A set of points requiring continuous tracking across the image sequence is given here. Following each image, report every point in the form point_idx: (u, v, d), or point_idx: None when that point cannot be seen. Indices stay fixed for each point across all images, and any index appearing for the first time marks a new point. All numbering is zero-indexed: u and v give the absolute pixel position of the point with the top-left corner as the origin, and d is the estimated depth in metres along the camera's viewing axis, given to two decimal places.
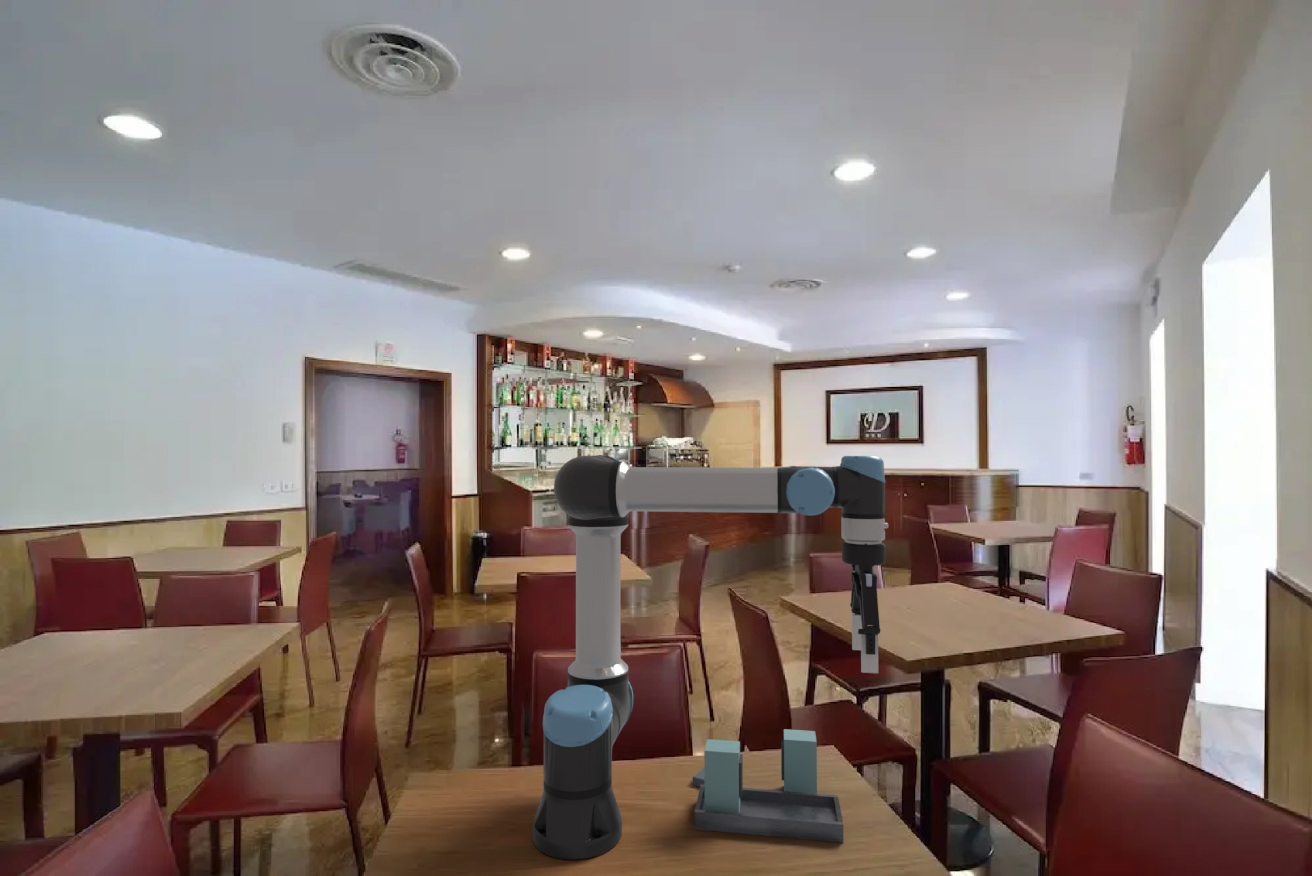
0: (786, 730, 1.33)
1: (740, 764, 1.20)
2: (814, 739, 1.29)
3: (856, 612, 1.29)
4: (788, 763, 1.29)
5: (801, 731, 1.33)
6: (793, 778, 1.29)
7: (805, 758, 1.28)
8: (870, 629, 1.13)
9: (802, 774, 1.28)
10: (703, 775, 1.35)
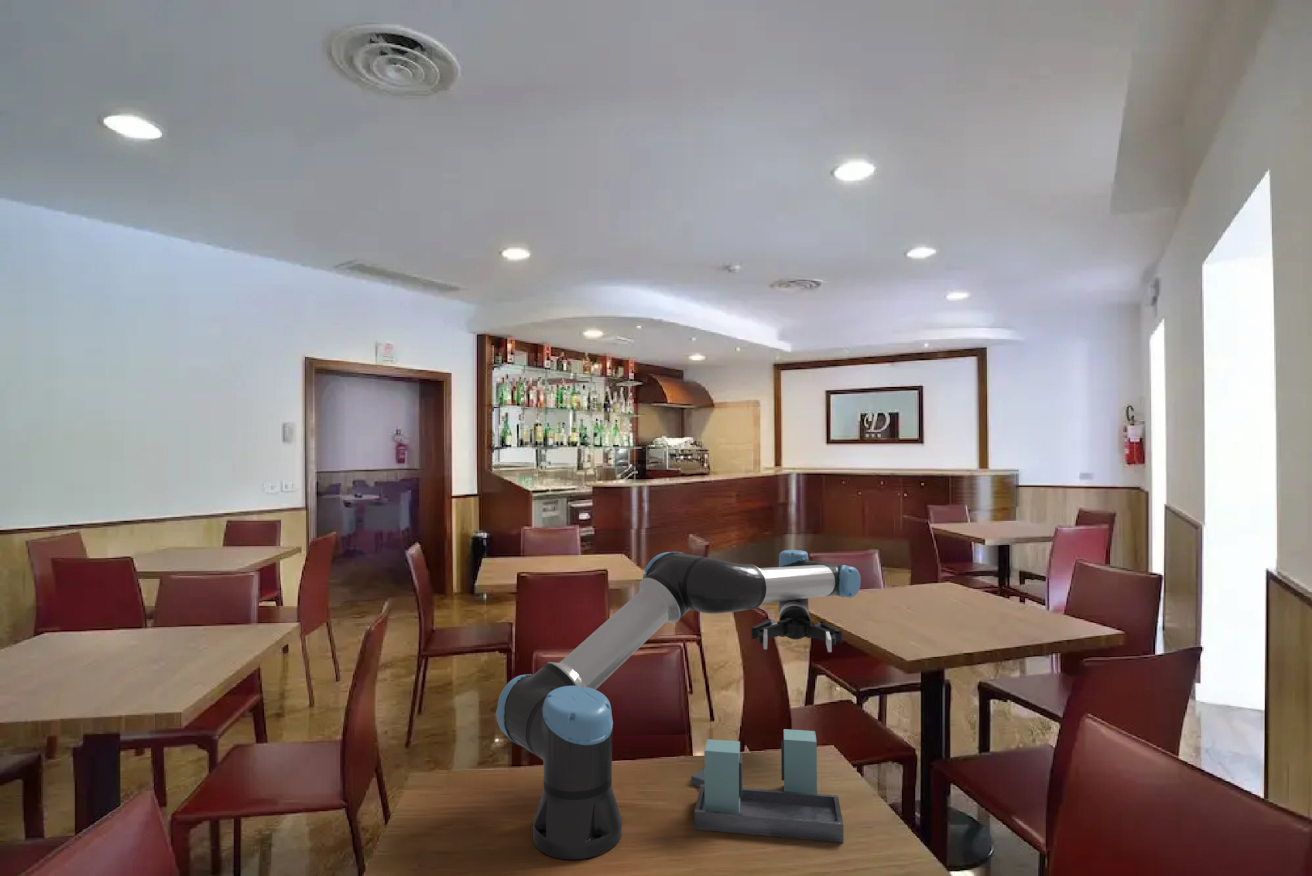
0: (786, 730, 1.33)
1: (740, 764, 1.20)
2: (814, 739, 1.29)
3: (764, 632, 1.55)
4: (788, 763, 1.29)
5: (801, 731, 1.33)
6: (793, 778, 1.29)
7: (805, 758, 1.28)
8: None
9: (802, 774, 1.28)
10: (702, 775, 1.35)
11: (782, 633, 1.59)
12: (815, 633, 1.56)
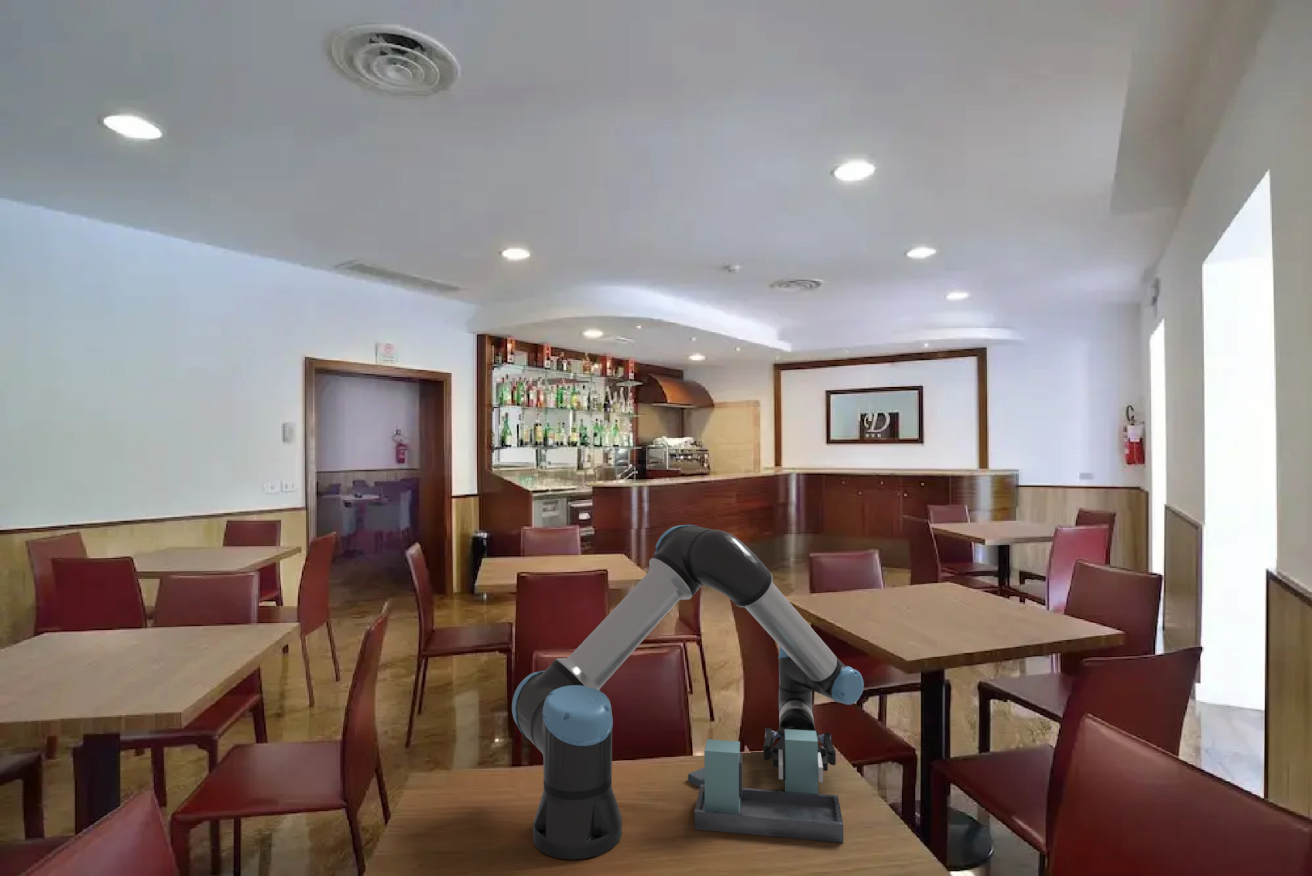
0: (787, 730, 1.33)
1: (740, 764, 1.20)
2: (815, 739, 1.29)
3: (778, 752, 1.34)
4: (789, 763, 1.29)
5: (802, 731, 1.33)
6: (795, 778, 1.29)
7: (807, 758, 1.28)
8: None
9: (804, 774, 1.28)
10: (699, 773, 1.36)
11: None
12: None
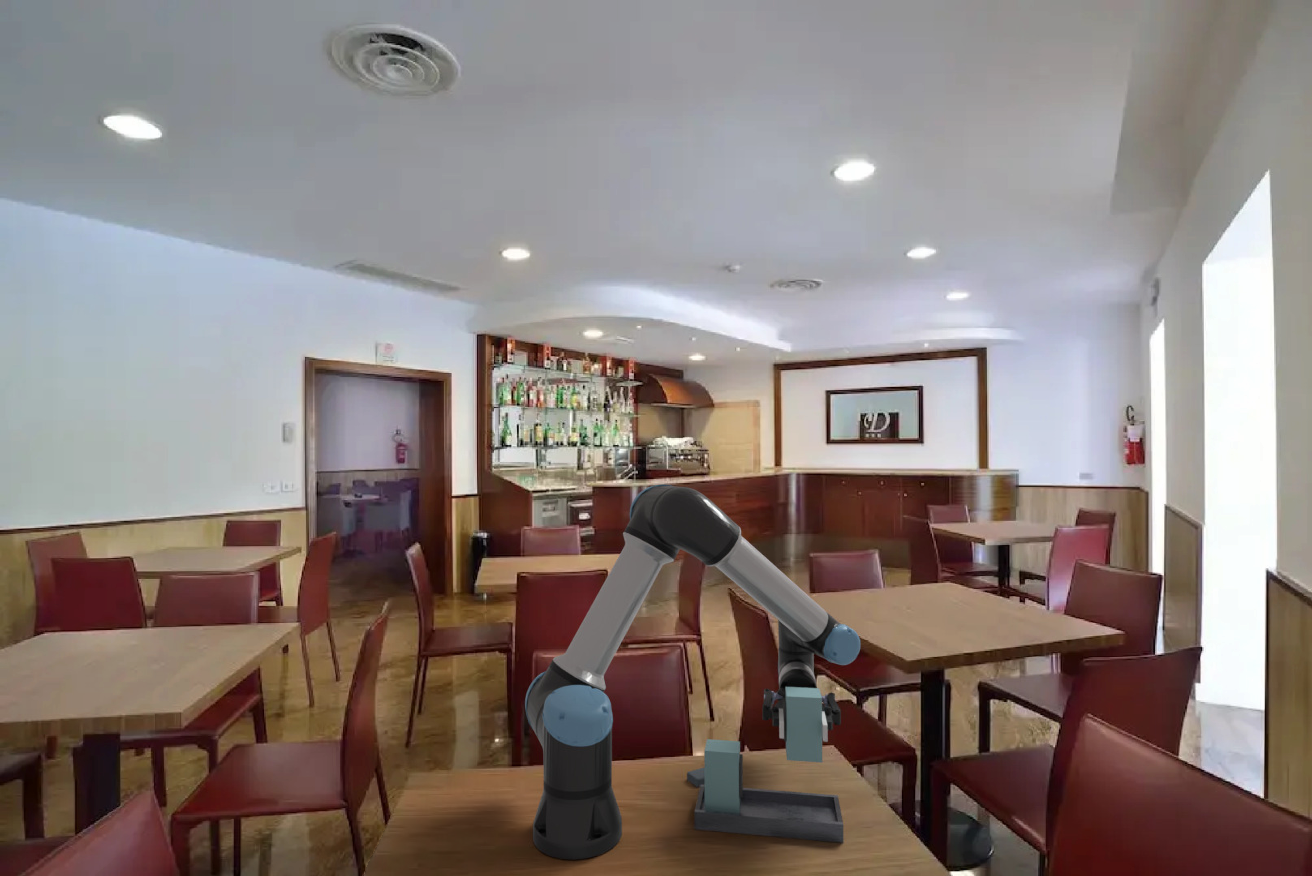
0: (788, 688, 1.23)
1: (740, 764, 1.20)
2: (819, 696, 1.19)
3: (779, 712, 1.23)
4: (790, 721, 1.19)
5: (804, 688, 1.23)
6: (797, 738, 1.19)
7: (810, 716, 1.18)
8: None
9: (806, 734, 1.18)
10: (698, 772, 1.36)
11: None
12: None
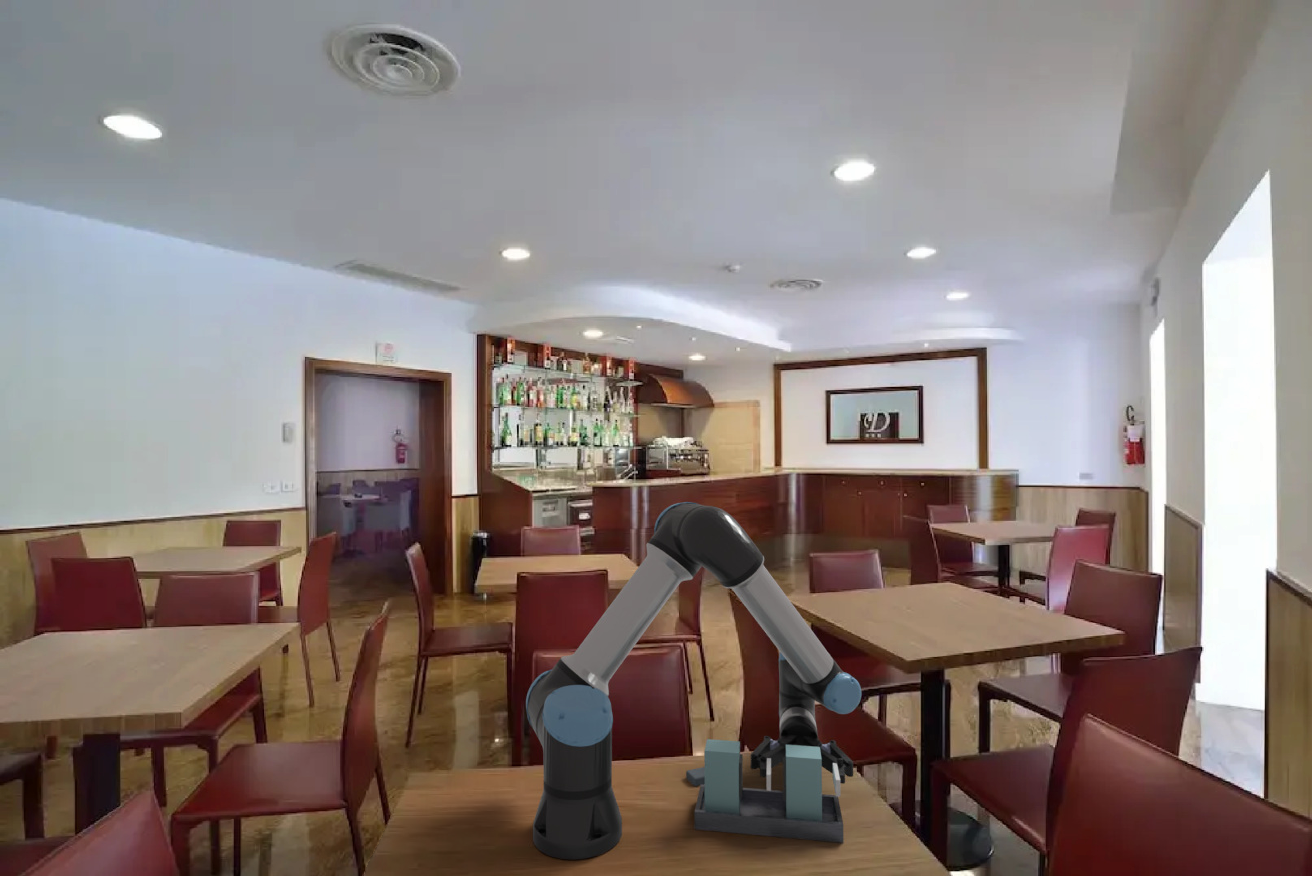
0: (788, 746, 1.23)
1: (740, 764, 1.20)
2: (819, 756, 1.18)
3: (767, 761, 1.24)
4: (790, 782, 1.18)
5: (805, 747, 1.22)
6: (796, 799, 1.18)
7: (809, 777, 1.18)
8: None
9: (806, 794, 1.18)
10: (696, 772, 1.36)
11: None
12: (822, 760, 1.26)
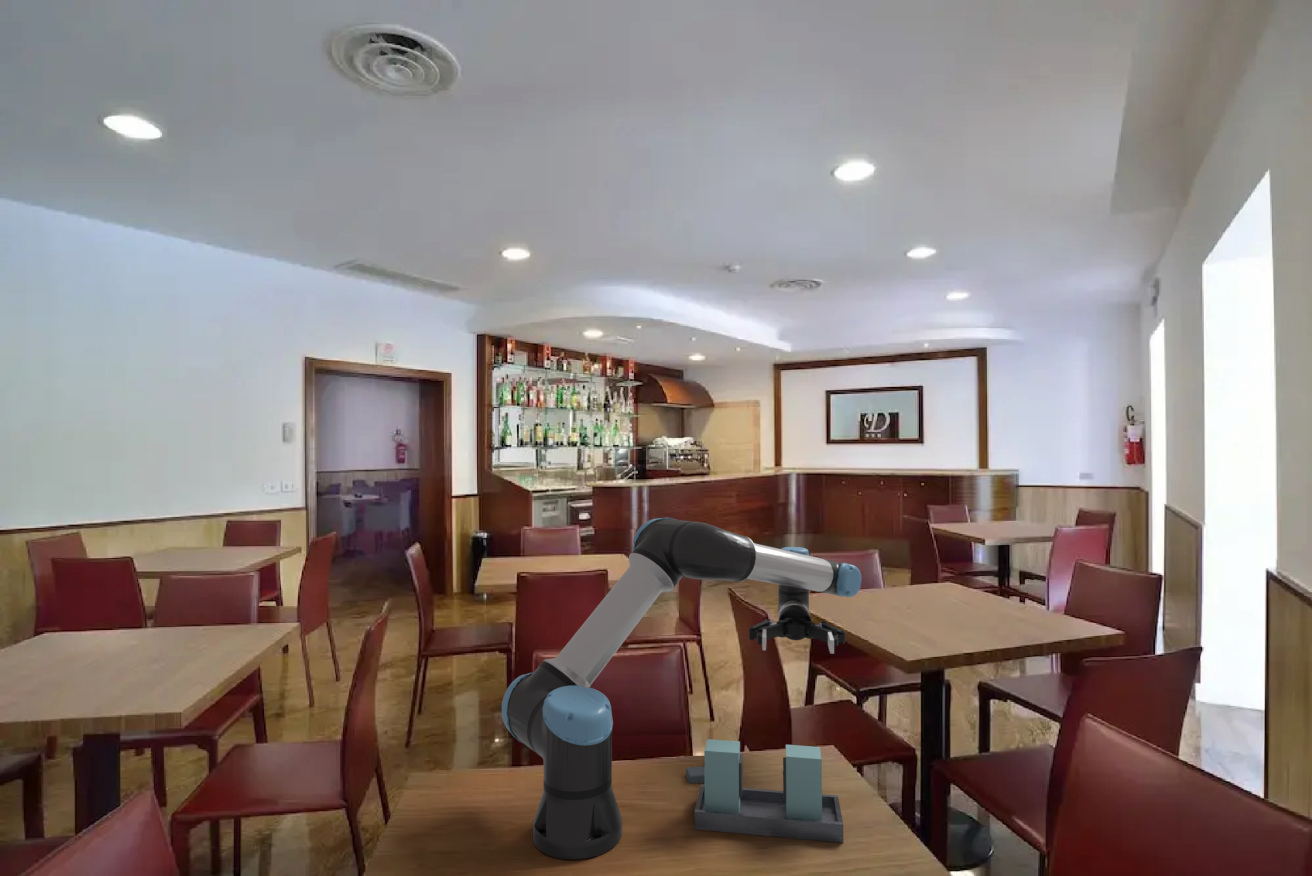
0: (788, 746, 1.23)
1: (740, 764, 1.20)
2: (819, 756, 1.18)
3: (762, 632, 1.47)
4: (790, 782, 1.18)
5: (805, 747, 1.22)
6: (796, 799, 1.18)
7: (809, 777, 1.18)
8: None
9: (806, 794, 1.18)
10: (695, 770, 1.37)
11: (782, 633, 1.51)
12: (817, 633, 1.48)
